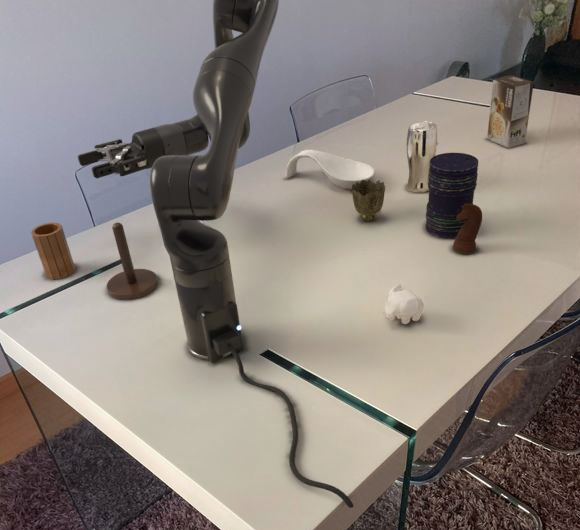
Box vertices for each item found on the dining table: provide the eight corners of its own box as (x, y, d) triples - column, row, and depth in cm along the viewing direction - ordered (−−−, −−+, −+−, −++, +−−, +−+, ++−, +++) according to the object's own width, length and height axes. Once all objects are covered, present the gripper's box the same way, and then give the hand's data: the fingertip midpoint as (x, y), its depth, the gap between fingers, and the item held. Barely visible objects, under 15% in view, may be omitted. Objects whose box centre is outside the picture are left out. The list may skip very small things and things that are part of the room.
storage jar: (437, 242, 134) (442, 174, 125) (417, 223, 141) (420, 157, 132) (480, 233, 135) (488, 165, 126) (458, 214, 143) (464, 149, 134)
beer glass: (433, 193, 153) (437, 131, 144) (404, 193, 154) (406, 131, 145) (434, 181, 158) (438, 120, 149) (405, 181, 160) (408, 121, 150)
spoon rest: (381, 178, 162) (382, 151, 158) (363, 197, 154) (363, 168, 150) (299, 167, 172) (297, 141, 168) (278, 184, 164) (275, 157, 160)
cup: (346, 223, 144) (345, 190, 139) (359, 209, 149) (359, 177, 144) (377, 228, 141) (378, 194, 136) (389, 214, 146) (390, 181, 141)
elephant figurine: (375, 315, 114) (376, 287, 111) (415, 304, 116) (416, 276, 113) (393, 335, 109) (394, 306, 106) (434, 323, 111) (437, 294, 107)
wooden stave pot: (78, 272, 135) (65, 229, 129) (51, 282, 132) (35, 239, 126) (70, 261, 139) (56, 219, 133) (42, 271, 137) (27, 228, 130)
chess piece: (453, 243, 133) (457, 198, 127) (478, 244, 132) (484, 199, 126) (451, 254, 130) (456, 208, 124) (477, 255, 128) (483, 209, 122)
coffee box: (526, 143, 174) (535, 81, 164) (507, 148, 172) (516, 86, 162) (503, 134, 181) (511, 74, 171) (485, 138, 179) (492, 78, 169)
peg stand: (166, 288, 127) (151, 224, 119) (118, 305, 123) (100, 240, 115) (146, 268, 134) (131, 206, 126) (100, 284, 130) (82, 222, 122)
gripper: (142, 119, 137) (69, 139, 131) (170, 136, 127) (92, 158, 121) (150, 153, 142) (79, 174, 135) (177, 172, 132) (103, 195, 125)
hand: (86, 167), depth 128 cm, fingers open, 8 cm apart
